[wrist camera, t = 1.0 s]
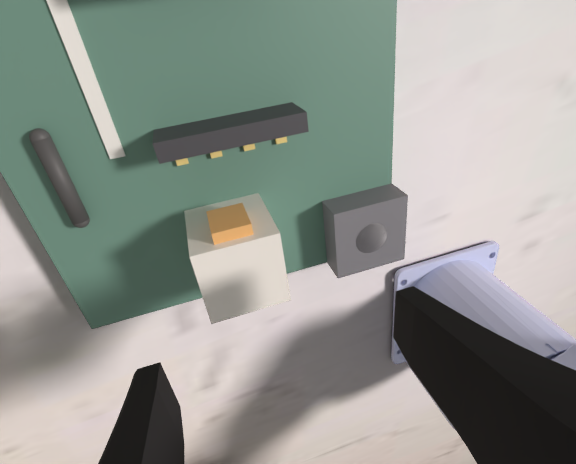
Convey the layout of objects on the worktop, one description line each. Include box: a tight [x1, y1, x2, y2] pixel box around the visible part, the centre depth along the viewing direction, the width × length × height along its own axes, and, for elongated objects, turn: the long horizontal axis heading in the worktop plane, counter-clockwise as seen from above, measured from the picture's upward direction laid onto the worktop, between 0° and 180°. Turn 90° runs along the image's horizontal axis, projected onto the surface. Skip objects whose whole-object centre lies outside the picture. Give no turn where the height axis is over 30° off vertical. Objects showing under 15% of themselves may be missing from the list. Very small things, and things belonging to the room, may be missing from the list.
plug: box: [184, 193, 291, 324], centre depth 17 cm, size 4×4×4 cm
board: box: [0, 0, 408, 329], centre depth 16 cm, size 15×17×3 cm
